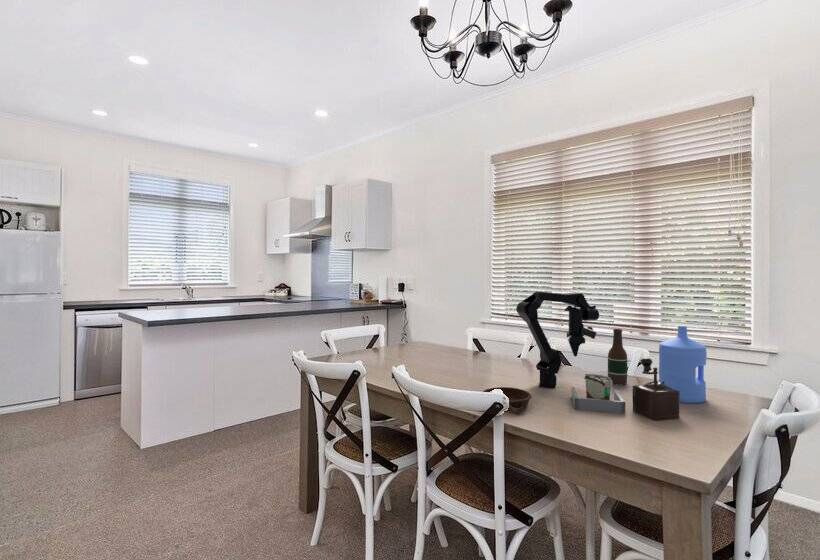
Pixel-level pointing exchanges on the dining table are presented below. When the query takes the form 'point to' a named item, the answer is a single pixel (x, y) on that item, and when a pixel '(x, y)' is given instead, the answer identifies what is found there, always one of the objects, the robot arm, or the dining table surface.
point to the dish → (515, 398)
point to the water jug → (683, 366)
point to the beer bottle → (617, 360)
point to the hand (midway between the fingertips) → (575, 356)
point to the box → (599, 403)
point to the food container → (598, 386)
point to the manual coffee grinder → (655, 397)
